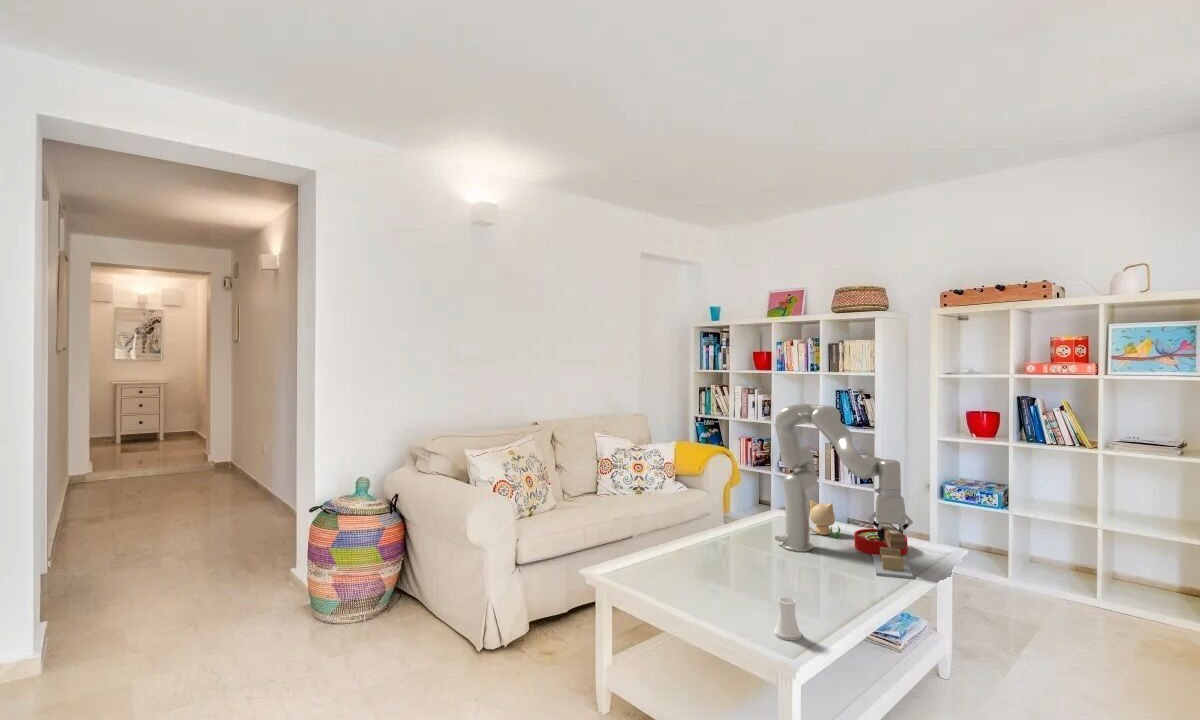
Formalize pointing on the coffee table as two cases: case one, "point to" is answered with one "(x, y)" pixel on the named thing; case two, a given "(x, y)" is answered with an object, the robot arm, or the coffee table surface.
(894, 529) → the wooden block
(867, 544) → the toy clock
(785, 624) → the white flared vase
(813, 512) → the kitten
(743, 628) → the coffee table surface
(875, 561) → the wall board
